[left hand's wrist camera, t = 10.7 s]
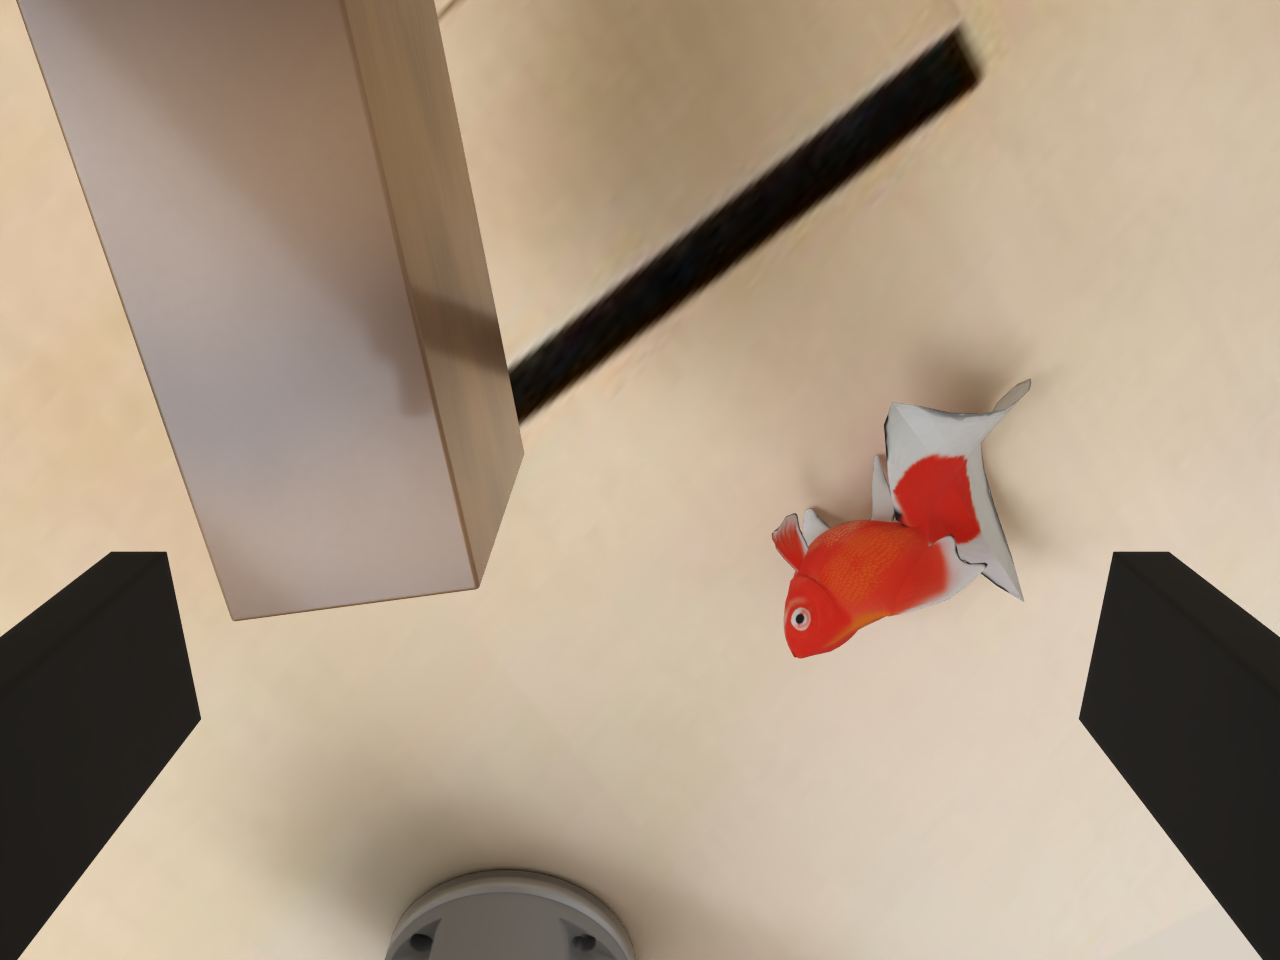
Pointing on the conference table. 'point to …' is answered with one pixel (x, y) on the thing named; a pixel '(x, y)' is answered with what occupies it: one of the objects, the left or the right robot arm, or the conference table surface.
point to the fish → (901, 532)
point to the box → (297, 283)
